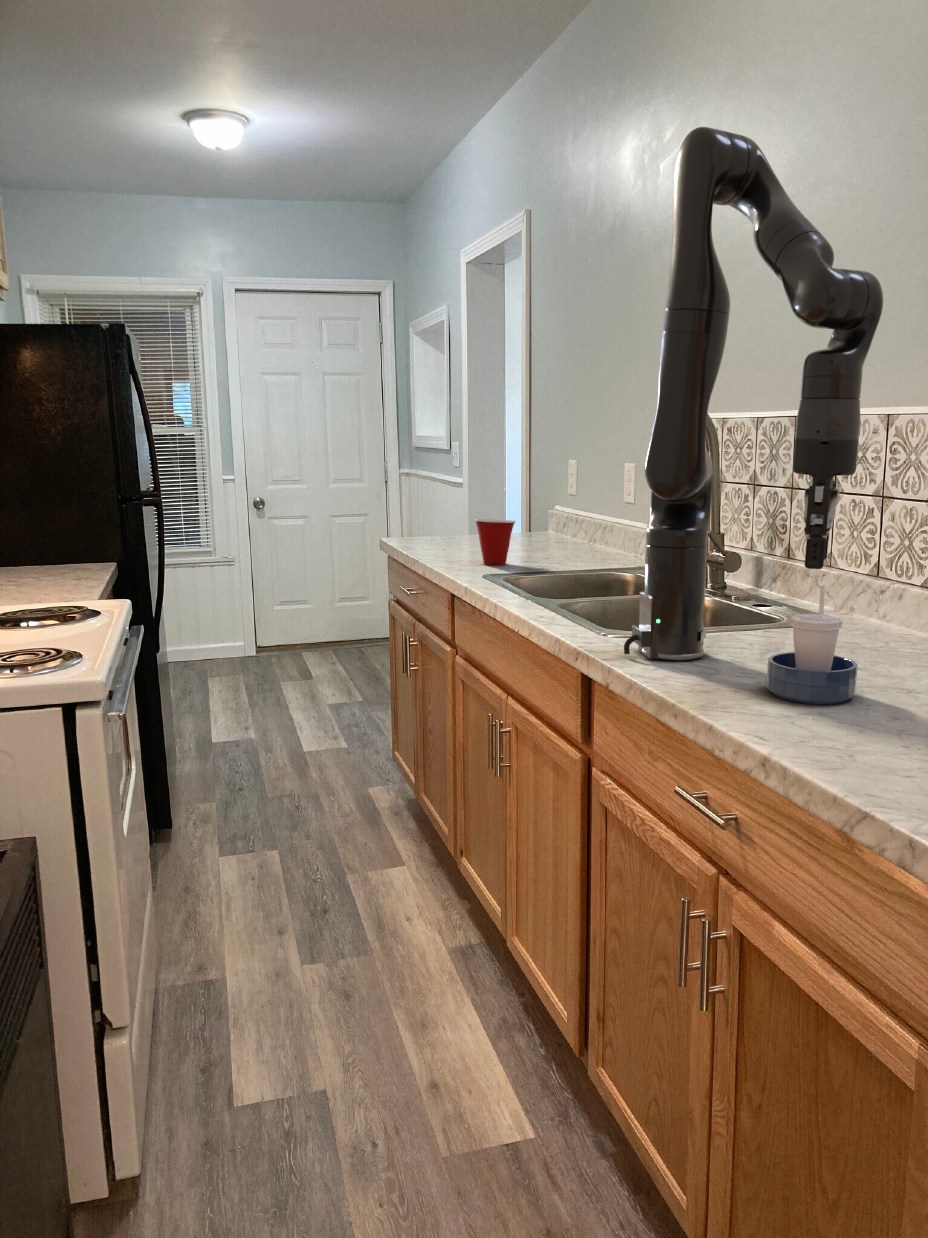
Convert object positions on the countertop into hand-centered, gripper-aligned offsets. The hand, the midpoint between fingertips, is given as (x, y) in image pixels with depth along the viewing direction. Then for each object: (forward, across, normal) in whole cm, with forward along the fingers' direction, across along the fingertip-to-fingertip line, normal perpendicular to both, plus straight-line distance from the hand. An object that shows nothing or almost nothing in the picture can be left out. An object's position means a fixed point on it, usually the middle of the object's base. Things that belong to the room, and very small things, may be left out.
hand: (815, 564), depth 124 cm
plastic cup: (+19, -103, -84) cm, 134 cm away
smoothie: (+17, 0, +1) cm, 17 cm away
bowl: (+18, 0, +1) cm, 18 cm away
